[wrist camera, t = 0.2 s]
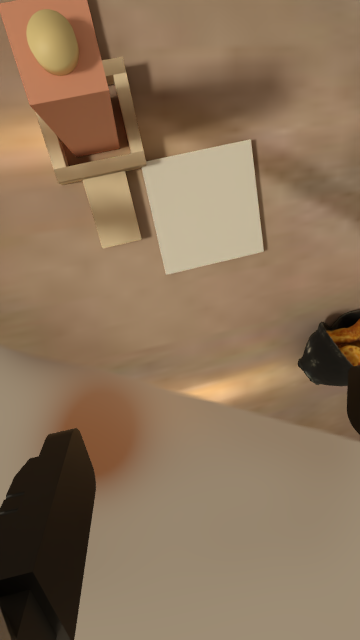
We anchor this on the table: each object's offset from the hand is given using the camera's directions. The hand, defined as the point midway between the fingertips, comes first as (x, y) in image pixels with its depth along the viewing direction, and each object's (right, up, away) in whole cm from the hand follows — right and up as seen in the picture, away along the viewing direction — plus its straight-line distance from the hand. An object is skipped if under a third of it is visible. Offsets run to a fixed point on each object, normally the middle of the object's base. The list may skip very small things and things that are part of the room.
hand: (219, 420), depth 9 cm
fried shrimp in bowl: (+22, +2, +33) cm, 40 cm away
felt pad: (+2, +15, +26) cm, 30 cm away
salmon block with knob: (-10, +22, +22) cm, 33 cm away
